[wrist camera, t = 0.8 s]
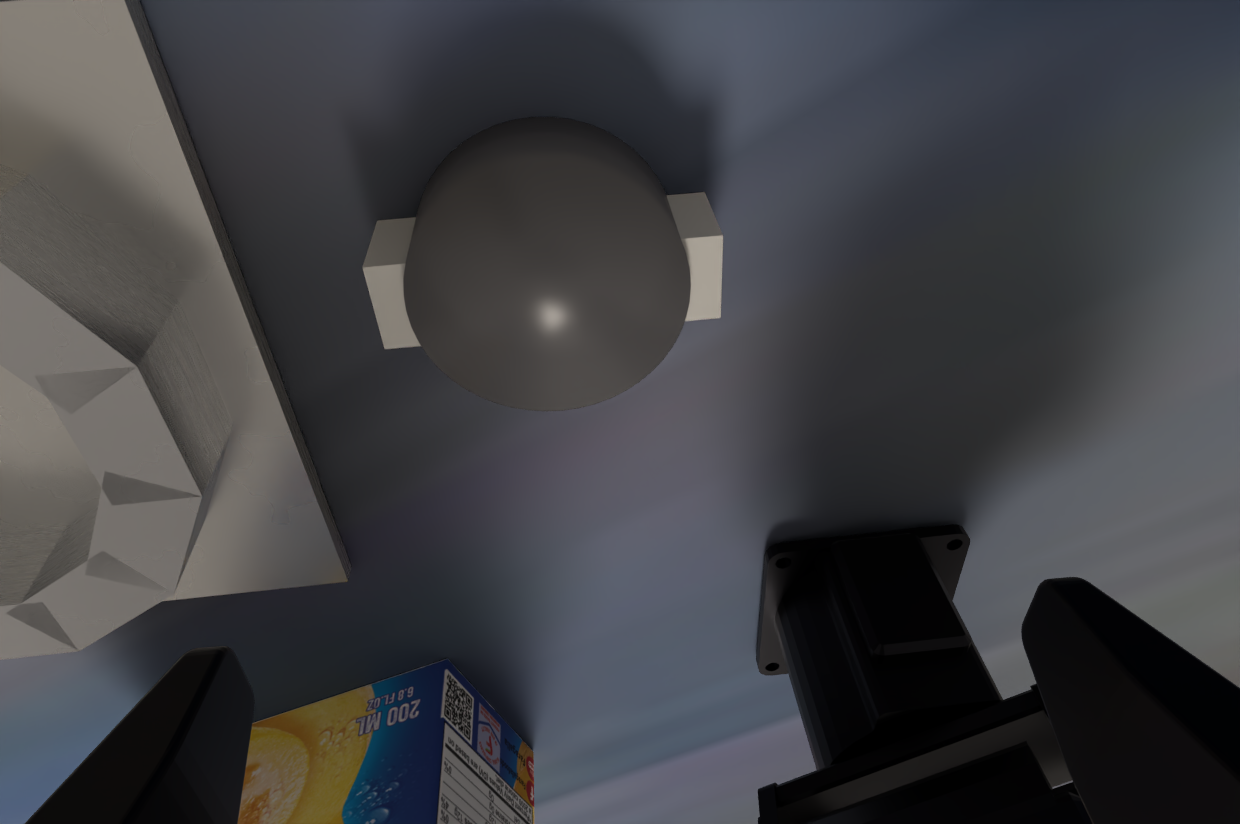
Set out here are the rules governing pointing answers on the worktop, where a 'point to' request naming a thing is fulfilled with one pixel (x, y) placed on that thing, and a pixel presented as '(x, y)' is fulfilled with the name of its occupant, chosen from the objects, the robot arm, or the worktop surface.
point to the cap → (545, 266)
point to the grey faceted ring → (129, 353)
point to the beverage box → (390, 758)
